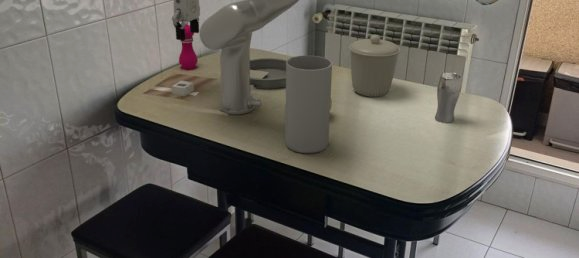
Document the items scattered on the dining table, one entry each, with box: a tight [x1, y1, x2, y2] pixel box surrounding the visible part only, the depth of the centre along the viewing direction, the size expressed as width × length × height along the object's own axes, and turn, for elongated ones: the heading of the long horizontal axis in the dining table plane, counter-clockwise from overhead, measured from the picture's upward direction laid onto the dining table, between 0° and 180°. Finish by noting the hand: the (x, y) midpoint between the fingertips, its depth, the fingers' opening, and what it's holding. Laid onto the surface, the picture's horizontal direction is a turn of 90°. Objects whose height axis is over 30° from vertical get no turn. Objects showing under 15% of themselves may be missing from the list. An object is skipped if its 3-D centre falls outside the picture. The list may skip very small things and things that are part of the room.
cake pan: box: [250, 57, 288, 89], centre depth 206 cm, size 25×25×4 cm
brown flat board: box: [142, 73, 218, 101], centre depth 194 cm, size 18×22×2 cm
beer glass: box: [434, 71, 462, 124], centre depth 171 cm, size 7×7×15 cm
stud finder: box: [172, 81, 194, 96], centre depth 188 cm, size 5×6×3 cm
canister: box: [348, 34, 402, 97], centre depth 191 cm, size 18×18×21 cm
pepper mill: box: [178, 21, 198, 71], centre depth 209 cm, size 7×7×20 cm
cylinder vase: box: [284, 55, 333, 154], centre depth 152 cm, size 12×12×25 cm
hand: (188, 36), depth 184 cm, fingers open, 9 cm apart
